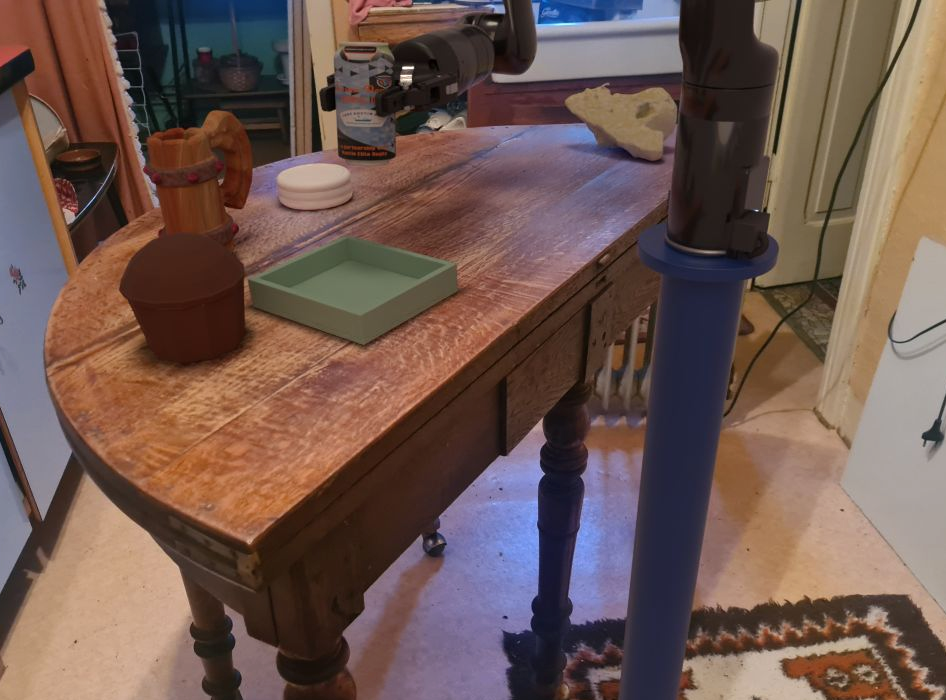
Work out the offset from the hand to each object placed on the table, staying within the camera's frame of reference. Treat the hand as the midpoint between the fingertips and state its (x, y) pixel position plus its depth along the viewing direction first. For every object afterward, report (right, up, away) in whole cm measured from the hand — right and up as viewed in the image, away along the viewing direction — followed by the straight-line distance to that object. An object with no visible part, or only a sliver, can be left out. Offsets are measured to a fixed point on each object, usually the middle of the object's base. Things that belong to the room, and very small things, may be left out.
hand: (351, 103), depth 85 cm
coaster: (-9, 0, +31) cm, 33 cm away
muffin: (-14, -24, -3) cm, 28 cm away
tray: (0, -19, +4) cm, 19 cm away
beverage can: (+1, -4, +6) cm, 7 cm away
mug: (-18, -11, +16) cm, 27 cm away
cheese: (+34, +11, +45) cm, 58 cm away
